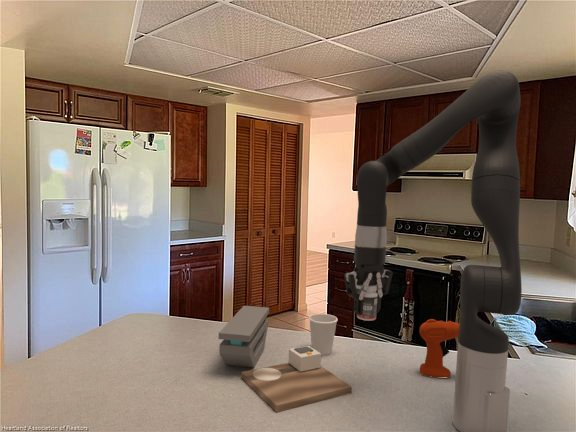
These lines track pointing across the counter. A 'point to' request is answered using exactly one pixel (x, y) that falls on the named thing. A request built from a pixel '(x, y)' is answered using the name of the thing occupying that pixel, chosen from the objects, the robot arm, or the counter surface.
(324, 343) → the dixie cup
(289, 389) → the wooden board
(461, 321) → the robot arm
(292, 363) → the white small box
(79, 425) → the counter surface
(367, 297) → the pill bottle
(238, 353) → the gray lidded box
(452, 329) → the toy drill
